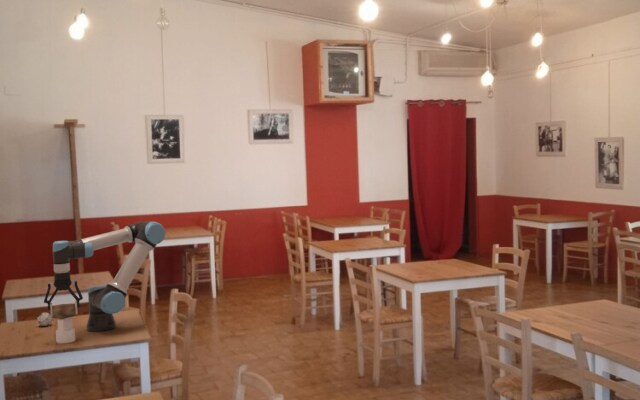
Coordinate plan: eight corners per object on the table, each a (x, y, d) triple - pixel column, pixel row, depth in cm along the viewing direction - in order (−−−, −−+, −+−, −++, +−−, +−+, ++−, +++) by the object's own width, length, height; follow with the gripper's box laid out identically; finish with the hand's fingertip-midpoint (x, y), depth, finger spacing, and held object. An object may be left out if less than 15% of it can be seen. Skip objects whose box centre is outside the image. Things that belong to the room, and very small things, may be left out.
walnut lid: (76, 312, 346) (75, 303, 346) (75, 317, 335) (74, 307, 335) (53, 314, 343) (52, 305, 342) (51, 319, 332) (51, 309, 332)
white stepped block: (62, 338, 345) (60, 315, 344) (78, 338, 344) (77, 315, 343) (52, 343, 336) (51, 319, 335) (69, 343, 335) (68, 319, 334)
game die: (49, 332, 376) (59, 317, 377) (38, 330, 369) (49, 315, 369) (39, 323, 380) (50, 308, 381) (29, 321, 372) (40, 305, 373)
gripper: (86, 269, 345) (89, 311, 346) (37, 272, 338) (39, 316, 339) (86, 271, 338) (88, 314, 339) (36, 274, 331) (38, 319, 332)
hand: (64, 315), depth 339 cm, fingers closed on walnut lid, 11 cm apart
